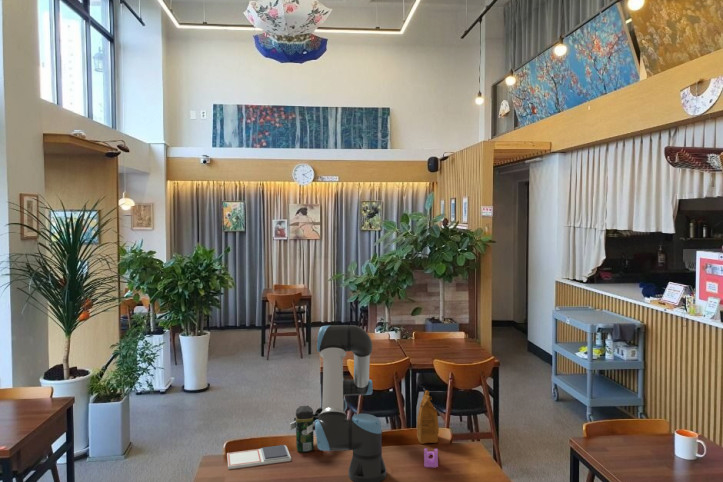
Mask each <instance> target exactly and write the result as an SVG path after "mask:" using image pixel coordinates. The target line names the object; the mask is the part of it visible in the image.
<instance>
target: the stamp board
mask: <svg viewBox="0 0 723 482" xmlns="http://www.w3.org/2000/svg"><path fill="white" fill-rule="evenodd" d="M285 446H286V448H287V451H288V453H289V456H290V458H284V459H277V460H269V461H264V460H263V456H262V452H261V448H256V449H248V450H242V451H233V452H227V453H226V458H227V469H228V470H234V469H243V468H248V467H256V466H263V465H271V464H272V465H273V464H278V463H285V462H291V461H292V457H291V454H290V452H289V448H288V447H287V445H285Z"/></svg>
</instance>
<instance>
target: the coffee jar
mask: <svg viewBox="0 0 723 482" xmlns="http://www.w3.org/2000/svg"><path fill="white" fill-rule="evenodd" d="M313 413H314V410H313V408H312V407H311V406H309V405H300V406H299V407H297V409H296V410H295V417H296V428H295V442H296V443H295V444H296V450H297V451H298V452H299V453H308V452H311V451H313V450H314V449H315V447H314V446H315V445H314V440H315V439H314V431H312V432H310V433H309V434H308V433H307V427H308V426H310V425H312V424H313V423H314V422H313Z"/></svg>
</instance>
